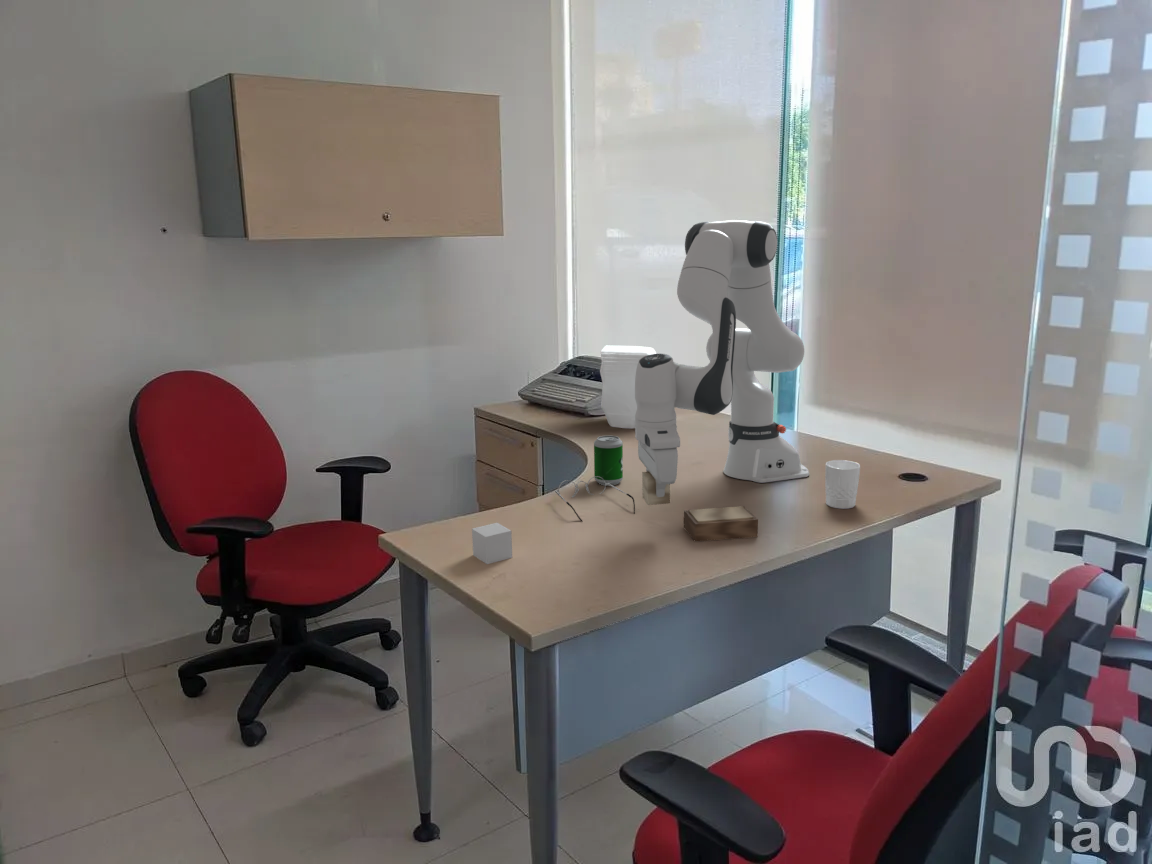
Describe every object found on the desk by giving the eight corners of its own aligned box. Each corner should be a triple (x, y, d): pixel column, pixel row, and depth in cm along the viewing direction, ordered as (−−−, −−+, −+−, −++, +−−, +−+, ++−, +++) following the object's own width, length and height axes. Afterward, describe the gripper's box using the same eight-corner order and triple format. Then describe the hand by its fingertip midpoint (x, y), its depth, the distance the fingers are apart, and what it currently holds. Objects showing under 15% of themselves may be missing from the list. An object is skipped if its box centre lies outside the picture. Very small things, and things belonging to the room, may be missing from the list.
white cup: (840, 512, 200) (842, 471, 197) (816, 502, 206) (818, 462, 204) (864, 506, 203) (867, 466, 201) (840, 497, 210) (843, 458, 207)
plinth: (743, 522, 194) (743, 504, 193) (757, 536, 185) (758, 518, 184) (683, 527, 192) (683, 509, 190) (695, 541, 183) (695, 522, 182)
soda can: (620, 487, 221) (620, 442, 218) (592, 485, 222) (591, 441, 219) (624, 478, 228) (624, 435, 225) (597, 477, 229) (596, 434, 226)
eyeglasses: (610, 492, 218) (609, 473, 217) (640, 515, 201) (640, 494, 200) (550, 500, 213) (550, 481, 212) (576, 524, 196) (576, 503, 195)
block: (664, 495, 191) (664, 470, 189) (670, 503, 186) (670, 477, 184) (642, 497, 190) (642, 472, 188) (647, 505, 185) (647, 479, 184)
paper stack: (609, 415, 300) (608, 343, 294) (683, 421, 290) (684, 346, 284) (586, 429, 281) (585, 352, 275) (665, 436, 271) (665, 356, 265)
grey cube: (486, 564, 173) (485, 537, 172) (473, 555, 178) (471, 528, 176) (512, 557, 176) (511, 530, 175) (498, 549, 181) (497, 522, 180)
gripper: (630, 419, 193) (631, 477, 197) (652, 444, 174) (653, 507, 177) (658, 417, 194) (658, 475, 198) (682, 441, 175) (682, 505, 178)
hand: (656, 491), depth 187 cm, fingers closed on block, 5 cm apart
